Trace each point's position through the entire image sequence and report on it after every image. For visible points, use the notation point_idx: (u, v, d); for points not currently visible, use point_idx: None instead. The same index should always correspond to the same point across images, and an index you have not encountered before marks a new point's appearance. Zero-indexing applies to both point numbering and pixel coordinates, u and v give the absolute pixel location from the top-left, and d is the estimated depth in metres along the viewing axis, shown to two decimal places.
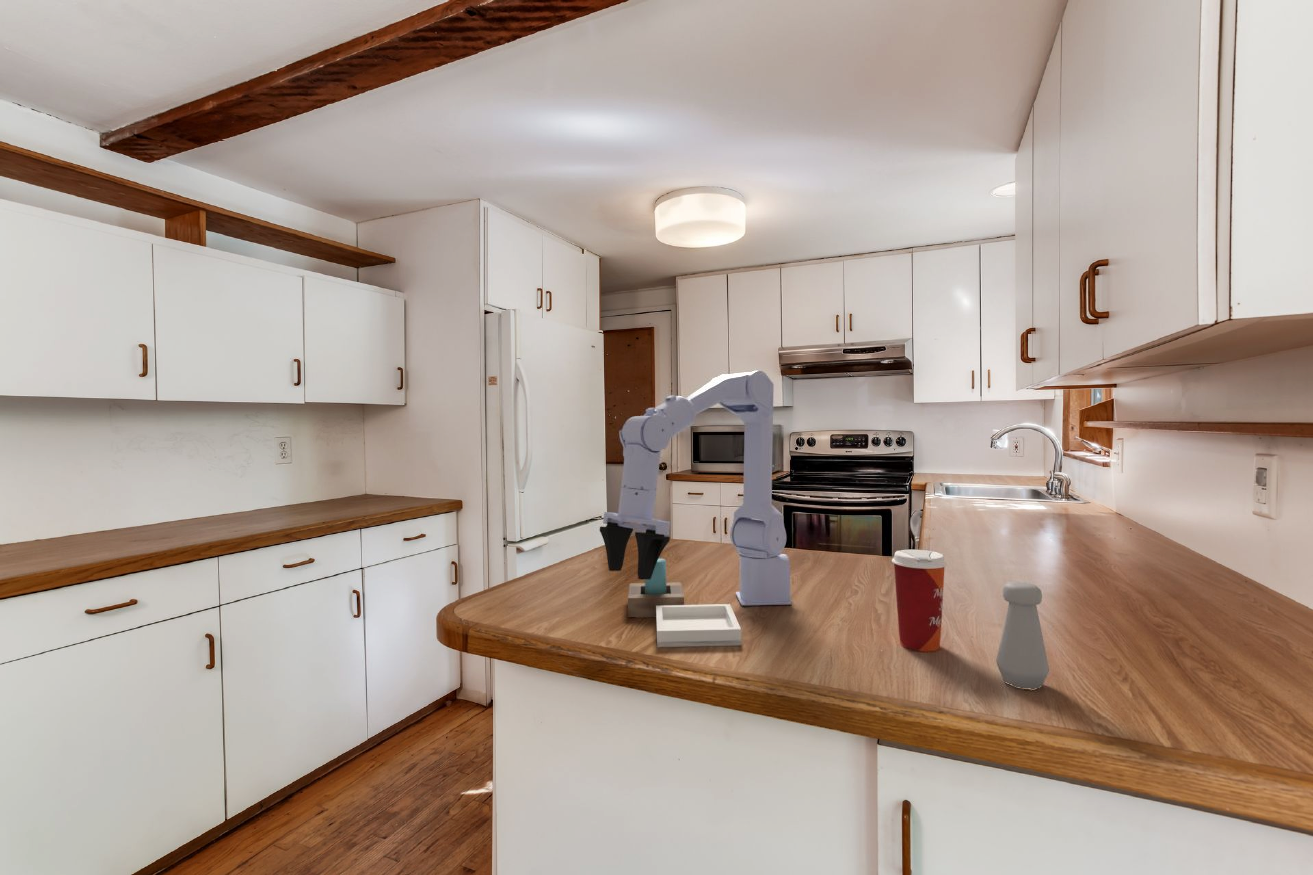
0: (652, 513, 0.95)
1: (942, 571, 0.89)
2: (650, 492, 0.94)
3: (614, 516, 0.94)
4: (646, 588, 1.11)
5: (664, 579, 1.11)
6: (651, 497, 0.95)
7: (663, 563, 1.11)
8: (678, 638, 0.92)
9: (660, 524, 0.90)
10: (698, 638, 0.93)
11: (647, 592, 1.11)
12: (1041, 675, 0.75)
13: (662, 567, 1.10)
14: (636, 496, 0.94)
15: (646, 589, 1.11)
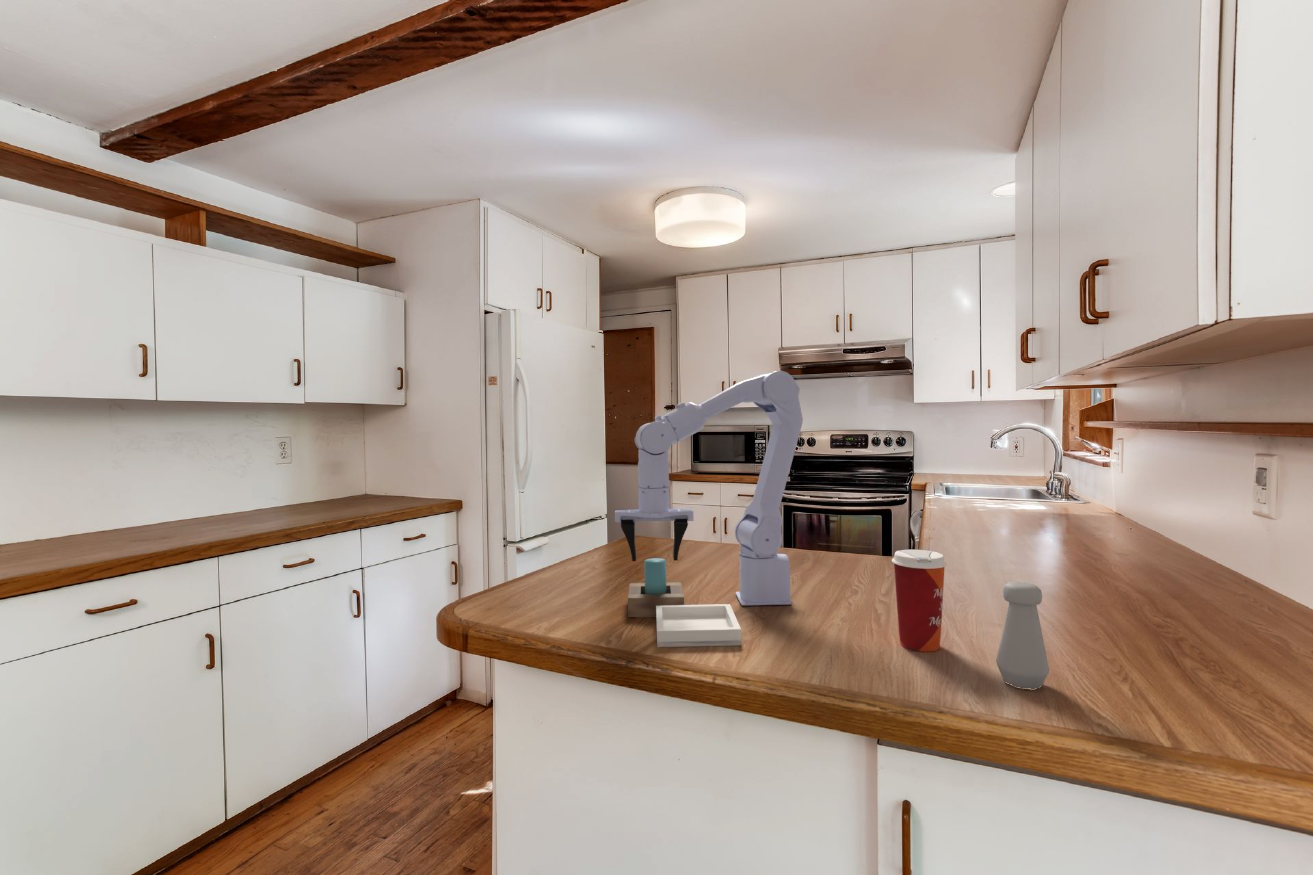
0: None
1: (942, 571, 0.89)
2: None
3: (652, 514, 1.08)
4: (646, 588, 1.11)
5: (664, 579, 1.11)
6: None
7: (663, 563, 1.11)
8: (678, 638, 0.92)
9: (692, 513, 1.11)
10: (698, 638, 0.93)
11: (647, 592, 1.11)
12: (1041, 675, 0.75)
13: (662, 567, 1.10)
14: (665, 494, 1.10)
15: (646, 589, 1.11)
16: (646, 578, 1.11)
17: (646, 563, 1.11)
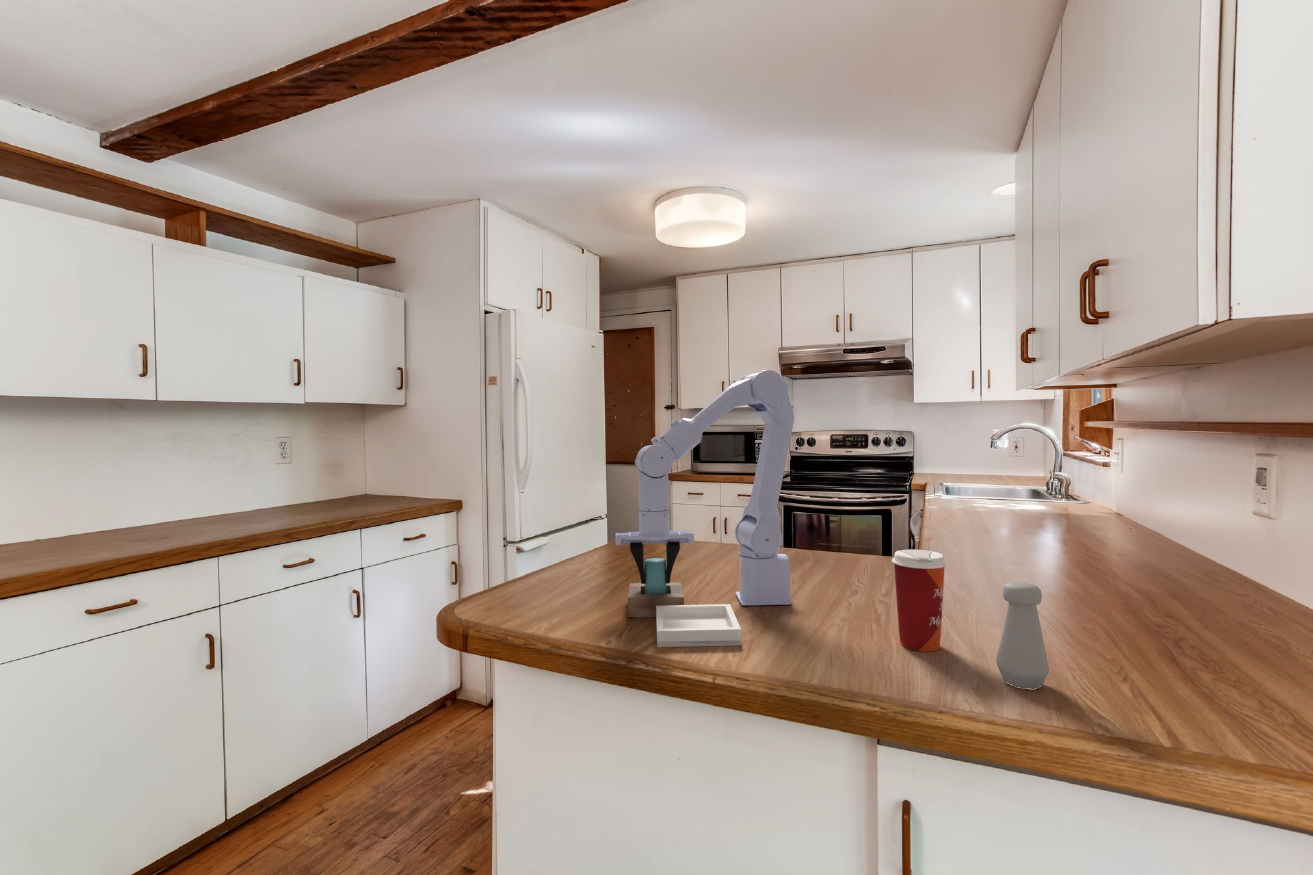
0: None
1: (942, 571, 0.89)
2: (669, 510, 1.12)
3: (652, 538, 1.08)
4: (646, 588, 1.11)
5: (664, 579, 1.11)
6: None
7: (663, 563, 1.11)
8: (678, 638, 0.92)
9: (693, 535, 1.11)
10: (698, 638, 0.93)
11: (647, 592, 1.11)
12: (1041, 675, 0.75)
13: (662, 567, 1.10)
14: (665, 517, 1.10)
15: (646, 589, 1.11)
16: (646, 578, 1.11)
17: (646, 563, 1.11)
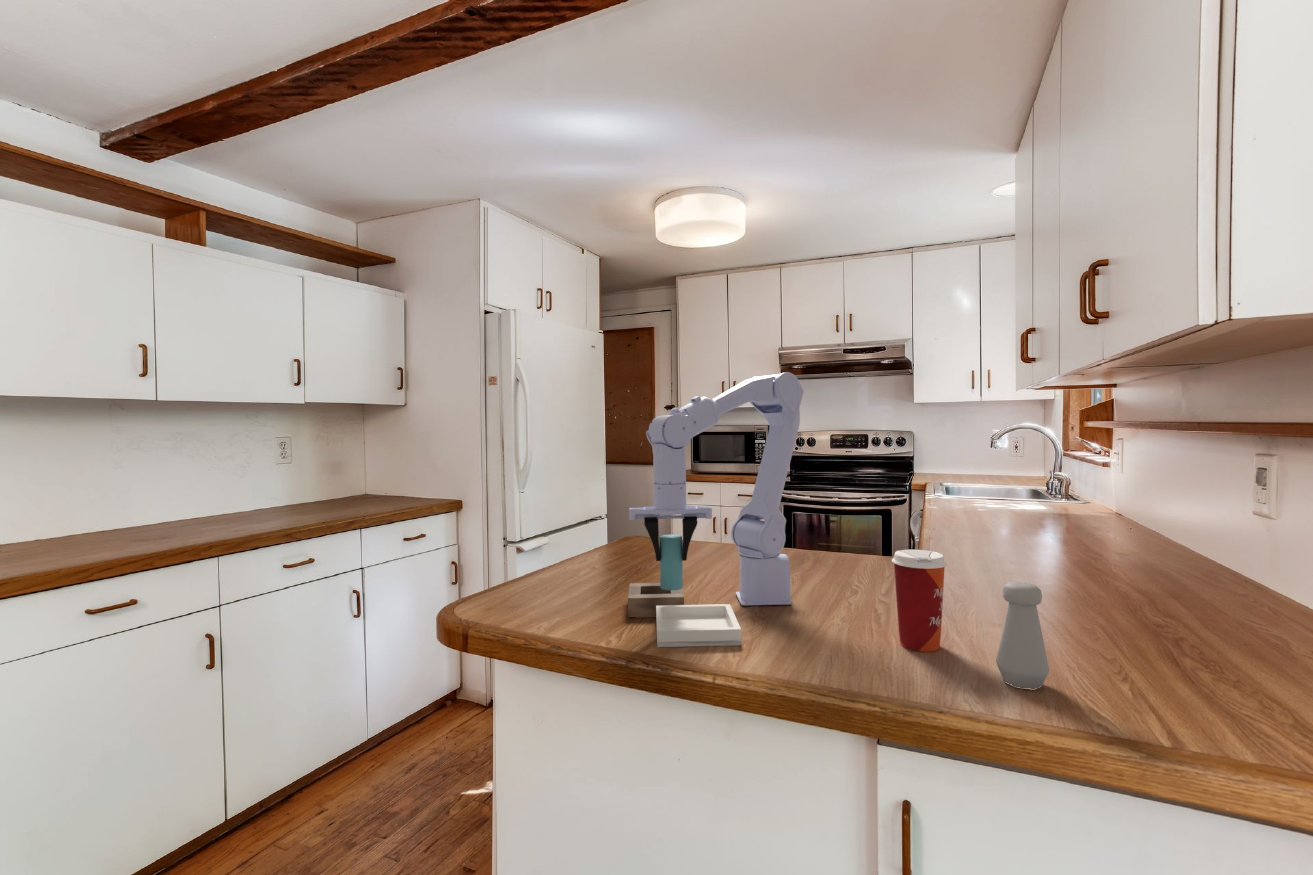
0: None
1: (942, 571, 0.89)
2: None
3: (668, 512, 1.02)
4: (661, 565, 1.05)
5: (680, 556, 1.05)
6: None
7: (679, 539, 1.05)
8: (678, 638, 0.92)
9: (711, 510, 1.05)
10: (698, 638, 0.93)
11: (662, 569, 1.05)
12: (1041, 675, 0.75)
13: (678, 543, 1.05)
14: (681, 490, 1.04)
15: (661, 566, 1.05)
16: (661, 555, 1.05)
17: (662, 539, 1.05)
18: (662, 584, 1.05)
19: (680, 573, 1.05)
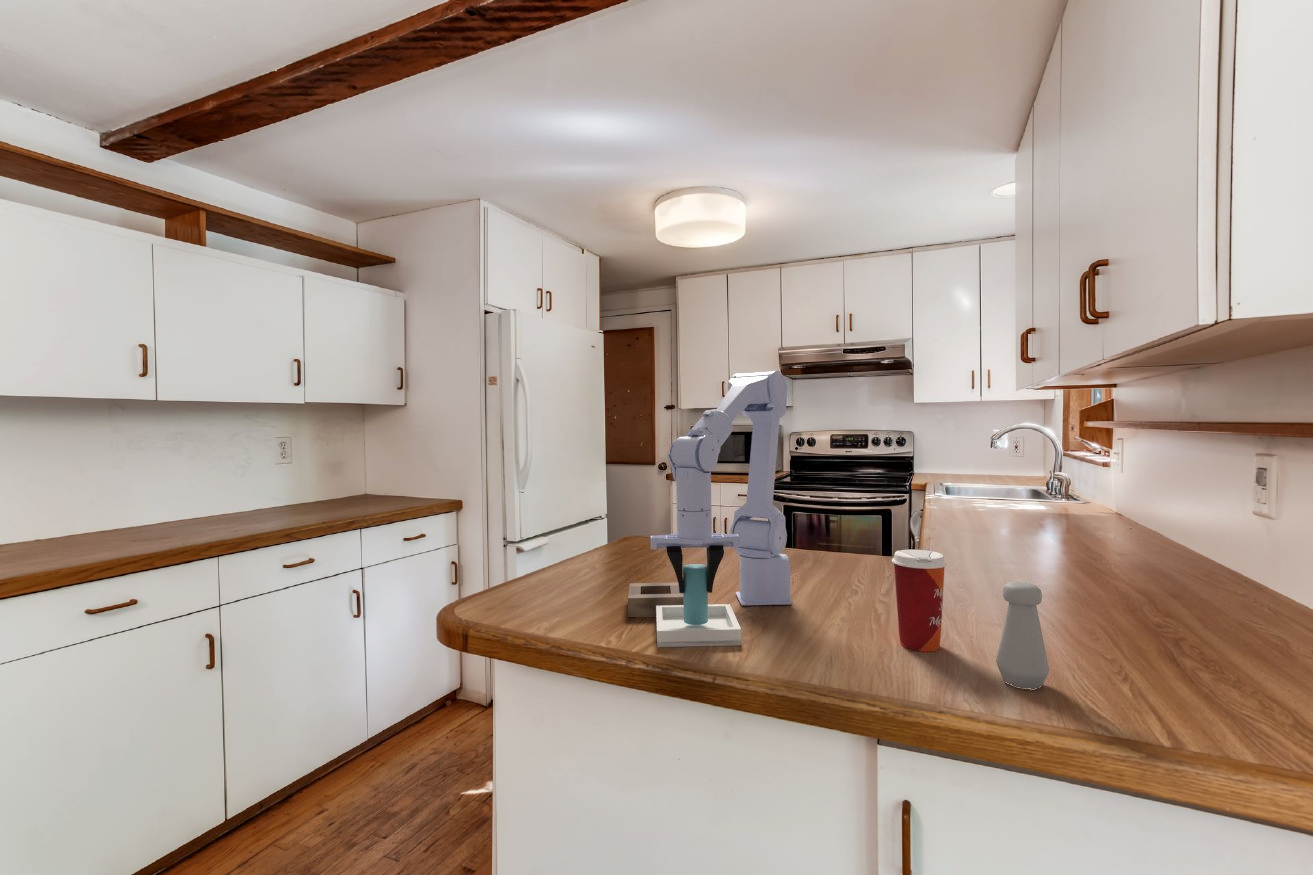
0: None
1: (942, 571, 0.89)
2: None
3: (694, 541, 0.95)
4: (685, 598, 0.98)
5: (706, 588, 0.98)
6: None
7: (705, 569, 0.98)
8: (678, 638, 0.92)
9: (738, 538, 0.98)
10: (698, 638, 0.93)
11: (687, 602, 0.98)
12: (1041, 675, 0.75)
13: (704, 574, 0.97)
14: (707, 517, 0.97)
15: (685, 599, 0.98)
16: (686, 587, 0.98)
17: (686, 570, 0.98)
18: (686, 618, 0.98)
19: (705, 606, 0.98)
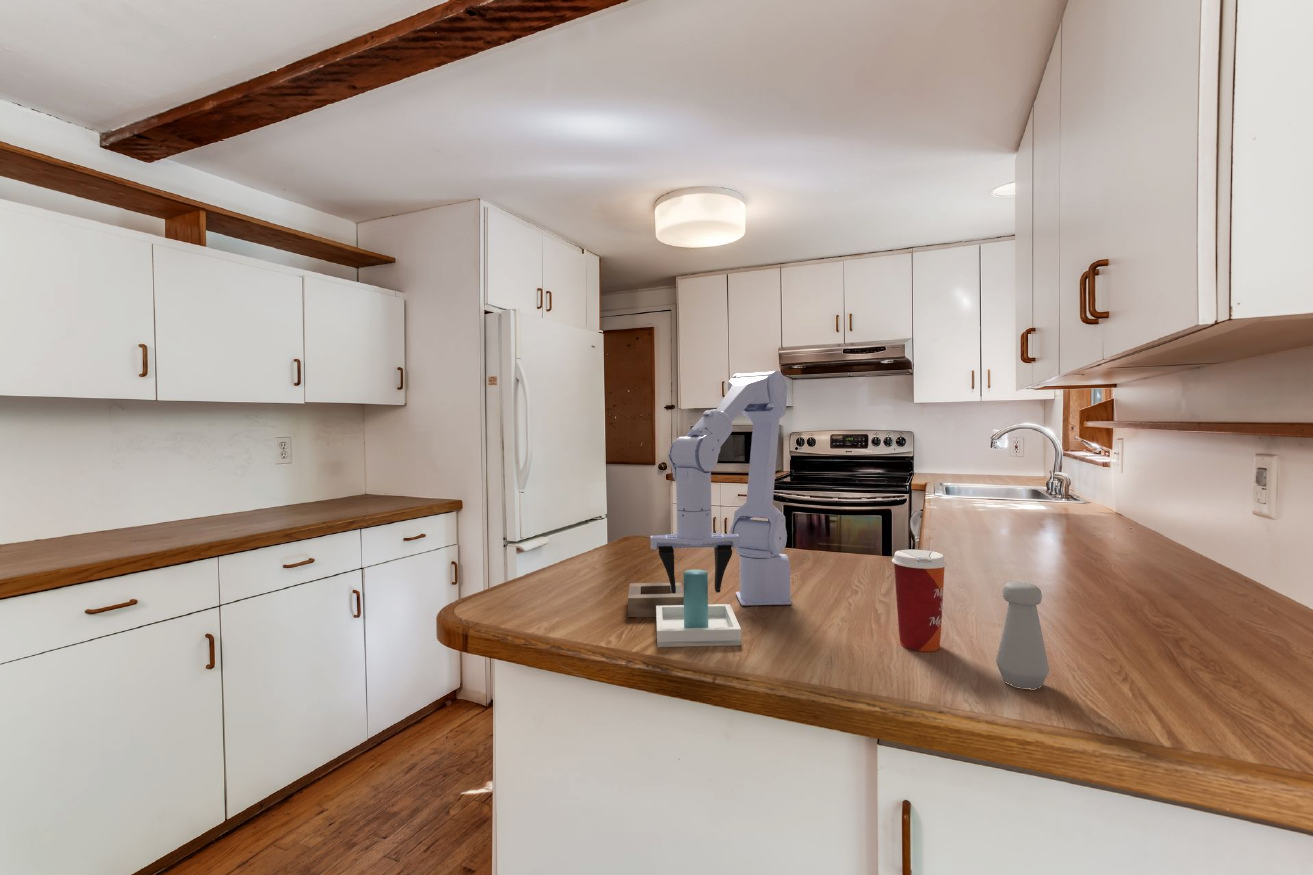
0: None
1: (942, 571, 0.89)
2: None
3: (694, 541, 0.95)
4: (686, 604, 0.98)
5: (706, 593, 0.98)
6: None
7: (705, 575, 0.98)
8: (678, 638, 0.92)
9: (738, 538, 0.98)
10: (698, 638, 0.93)
11: (687, 608, 0.98)
12: (1041, 675, 0.75)
13: (704, 580, 0.97)
14: (707, 517, 0.97)
15: (686, 605, 0.98)
16: (686, 592, 0.98)
17: (686, 576, 0.98)
18: (687, 624, 0.98)
19: (706, 612, 0.98)
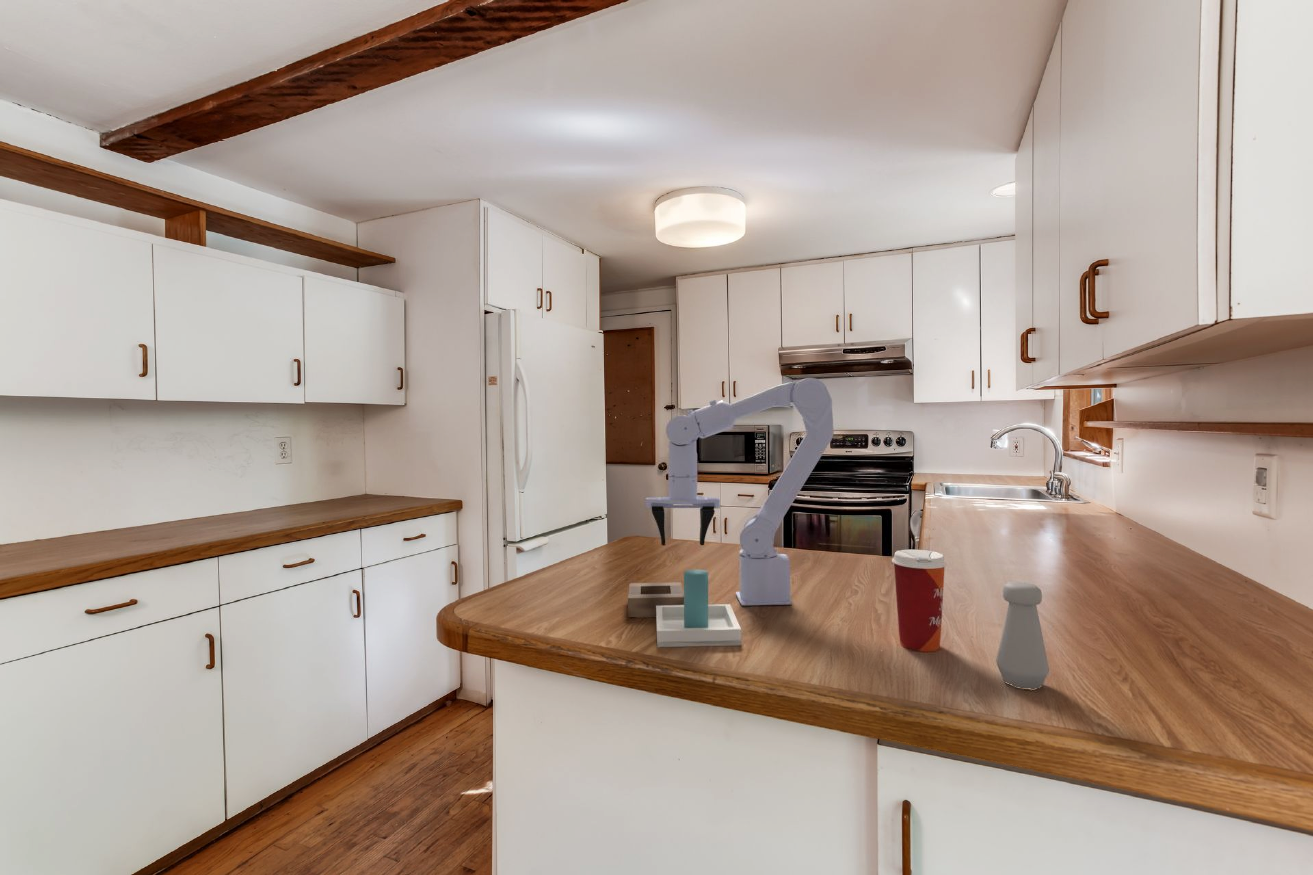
0: None
1: (942, 571, 0.89)
2: (696, 477, 1.19)
3: (682, 502, 1.15)
4: (686, 604, 0.98)
5: (707, 593, 0.98)
6: None
7: (706, 575, 0.98)
8: (678, 638, 0.92)
9: (719, 501, 1.18)
10: (698, 638, 0.93)
11: (687, 608, 0.98)
12: (1041, 675, 0.75)
13: (705, 580, 0.97)
14: (693, 482, 1.17)
15: (686, 605, 0.98)
16: (686, 592, 0.98)
17: (687, 575, 0.98)
18: (687, 624, 0.98)
19: (706, 612, 0.98)
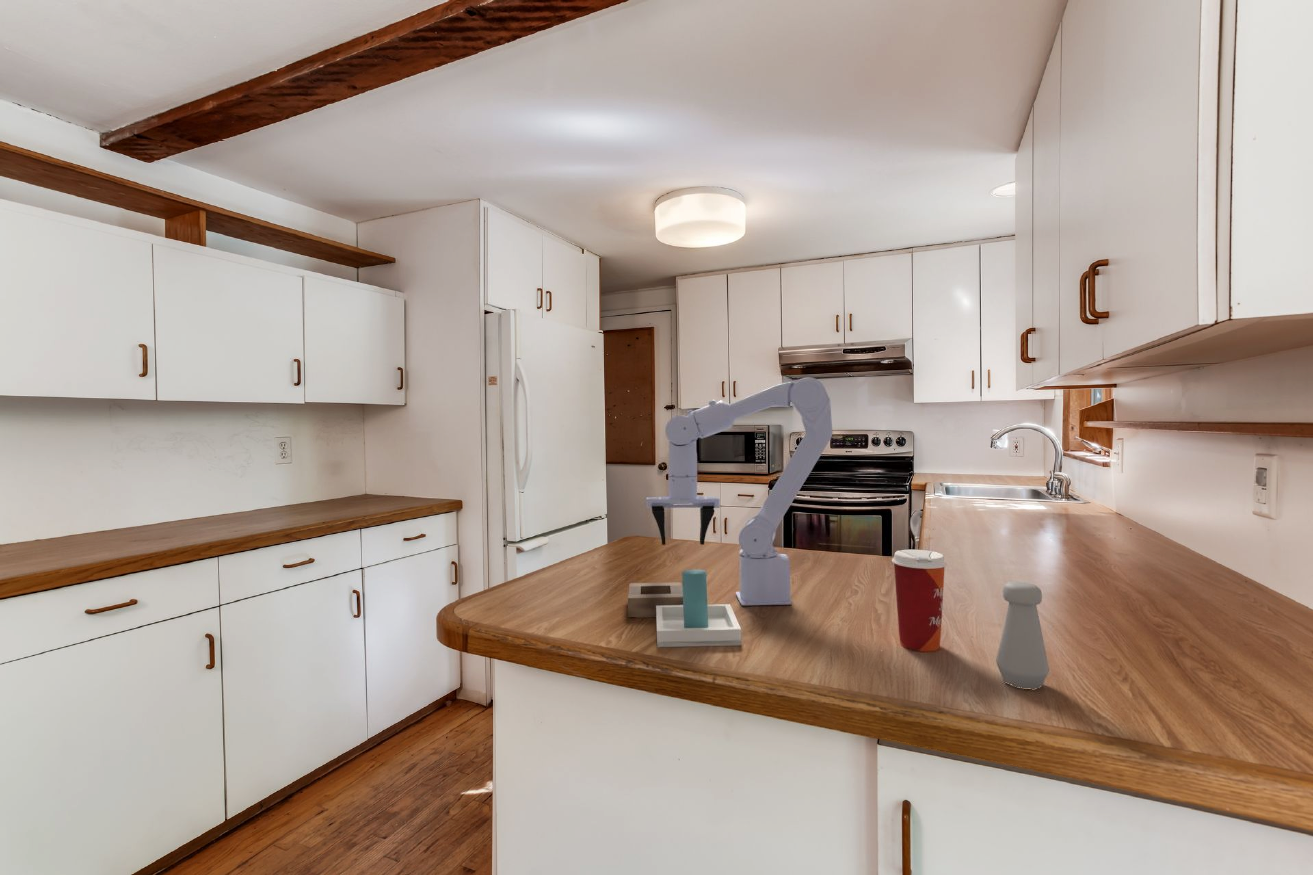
0: None
1: (942, 571, 0.89)
2: (696, 477, 1.20)
3: (682, 501, 1.16)
4: (685, 604, 0.98)
5: (705, 593, 0.98)
6: None
7: (704, 575, 0.98)
8: (678, 638, 0.92)
9: (719, 500, 1.19)
10: (698, 638, 0.93)
11: (687, 608, 0.98)
12: (1041, 675, 0.75)
13: (703, 579, 0.97)
14: (693, 482, 1.18)
15: (685, 605, 0.98)
16: (685, 593, 0.98)
17: (685, 576, 0.98)
18: (687, 624, 0.98)
19: (706, 611, 0.98)
